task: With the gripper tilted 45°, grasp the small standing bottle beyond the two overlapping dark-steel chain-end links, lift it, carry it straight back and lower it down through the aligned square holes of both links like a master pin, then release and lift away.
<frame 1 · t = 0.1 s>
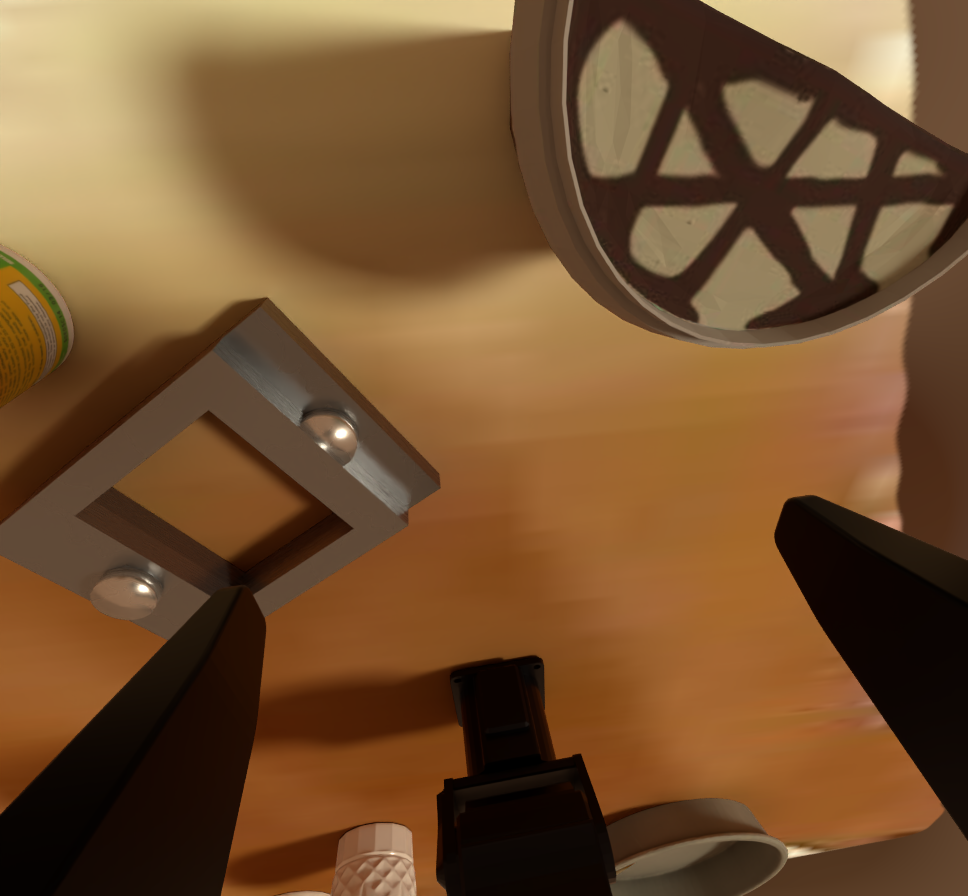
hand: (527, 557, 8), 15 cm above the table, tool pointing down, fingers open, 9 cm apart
cake pan: (660, 837, 58), on the table
white cup: (375, 835, 47), on the table
chain ends: (236, 489, 24), on the table
food container: (601, 183, 19), on the table
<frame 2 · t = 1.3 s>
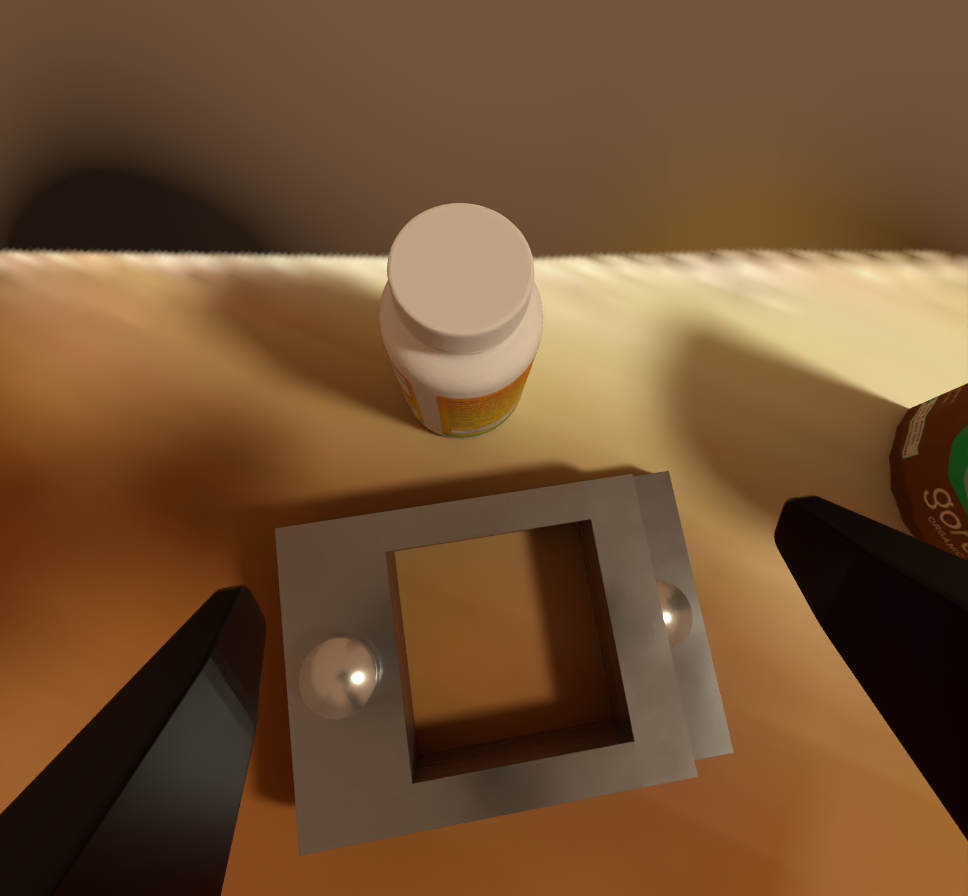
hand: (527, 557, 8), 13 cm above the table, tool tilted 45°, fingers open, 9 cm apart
supplement bottle: (462, 385, 23), on the table
chain ends: (501, 633, 21), on the table
food container: (950, 526, 23), on the table
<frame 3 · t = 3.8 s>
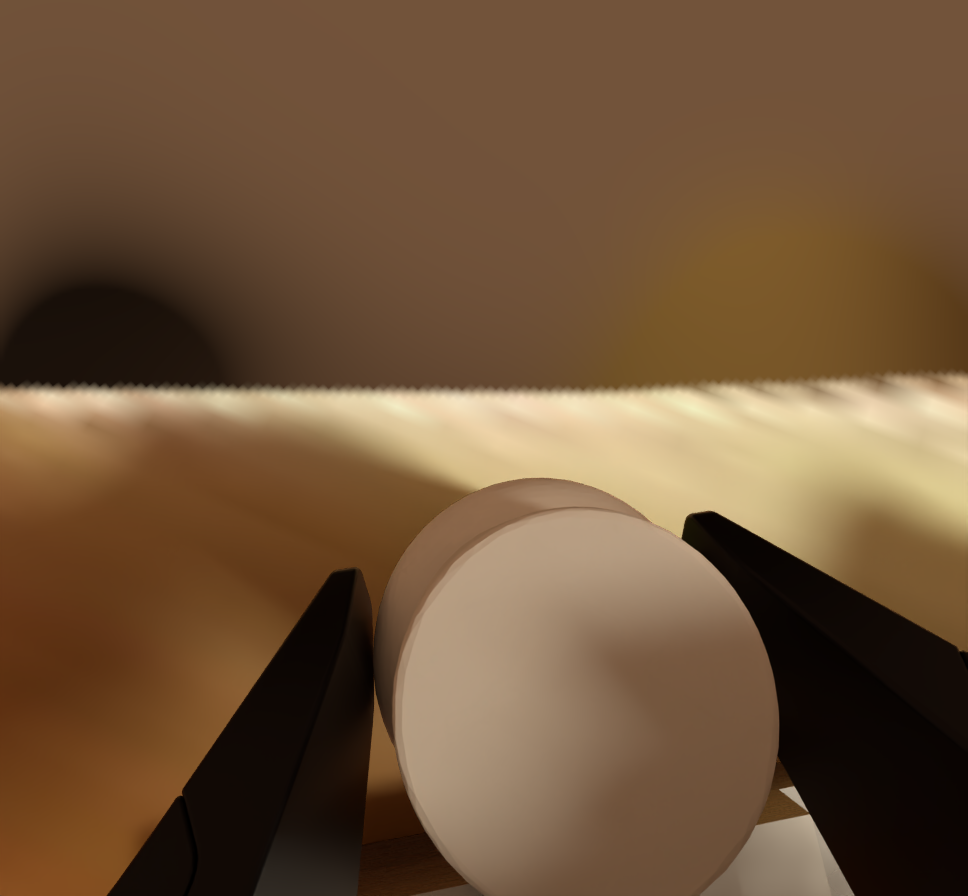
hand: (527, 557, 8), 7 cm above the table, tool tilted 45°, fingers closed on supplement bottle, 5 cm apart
supplement bottle: (506, 600, 15), on the table, touching gripper
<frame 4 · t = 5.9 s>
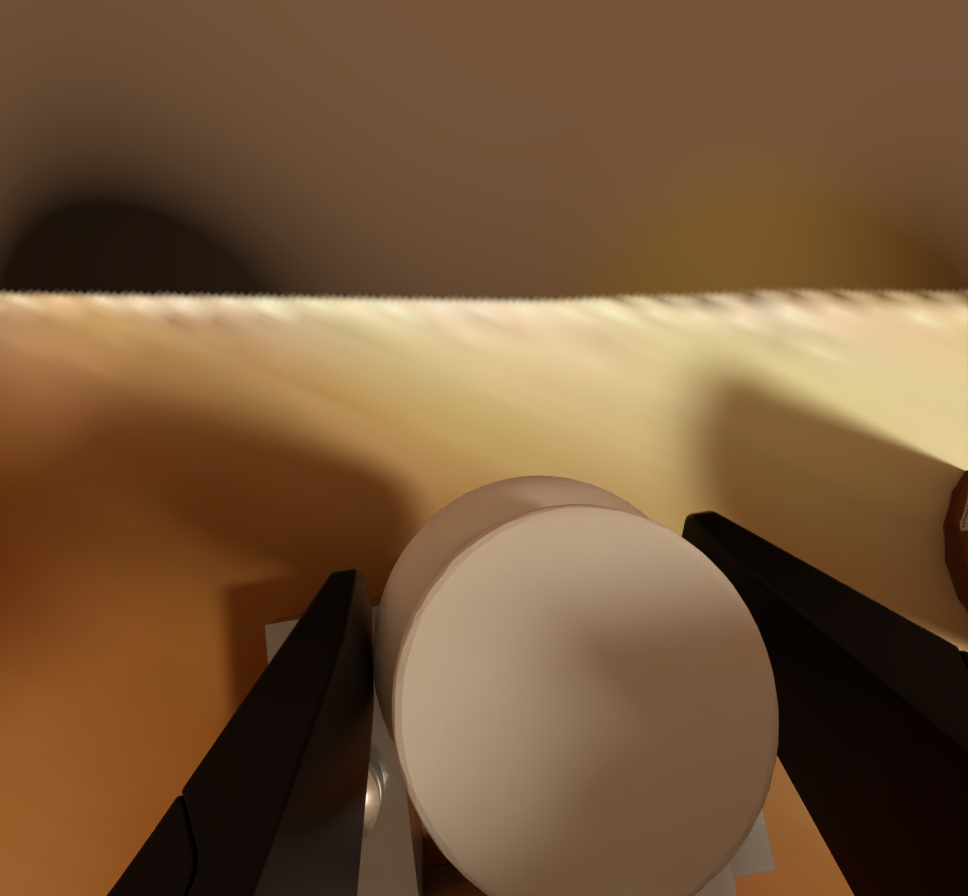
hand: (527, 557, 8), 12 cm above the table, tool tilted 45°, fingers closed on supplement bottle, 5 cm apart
supplement bottle: (506, 599, 15), point 5 cm above the table, touching gripper
chain ends: (518, 728, 19), on the table
when the fingers open (7 cm above the table, at t = 8.0 s): supplement bottle stays where it is, resting in chain ends.
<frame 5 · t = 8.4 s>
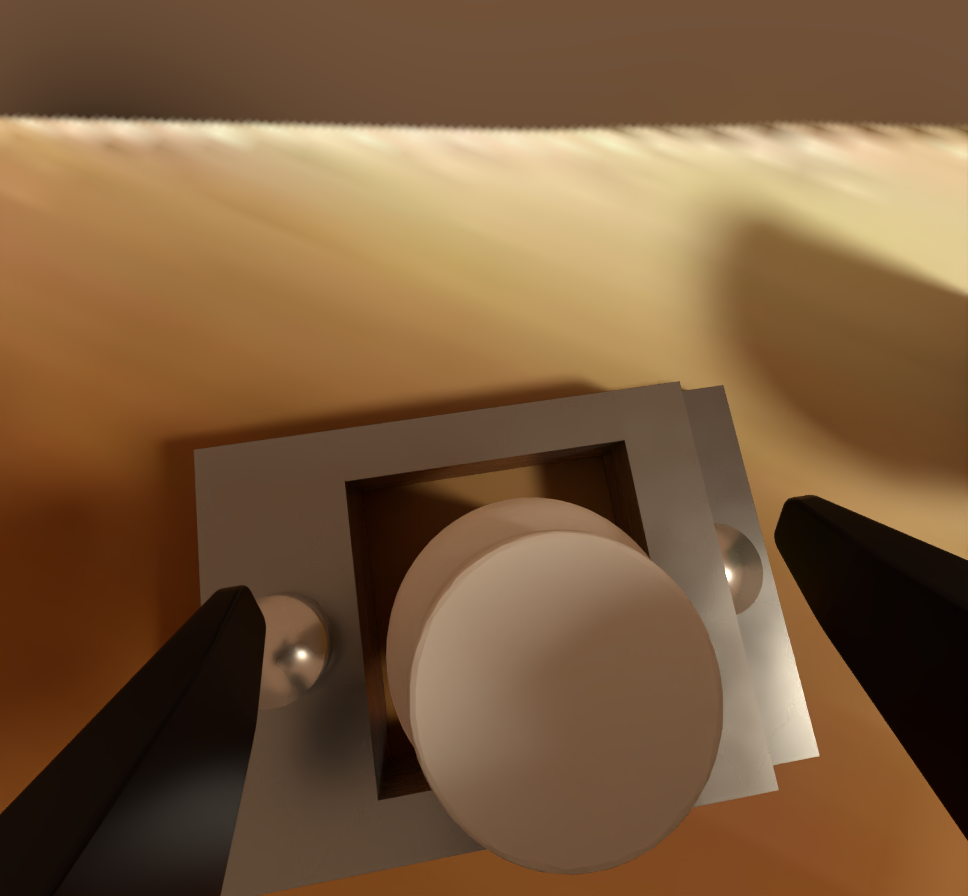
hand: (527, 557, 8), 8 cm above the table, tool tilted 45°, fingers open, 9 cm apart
supplement bottle: (504, 603, 16), resting in chain ends
chain ends: (503, 597, 16), on the table
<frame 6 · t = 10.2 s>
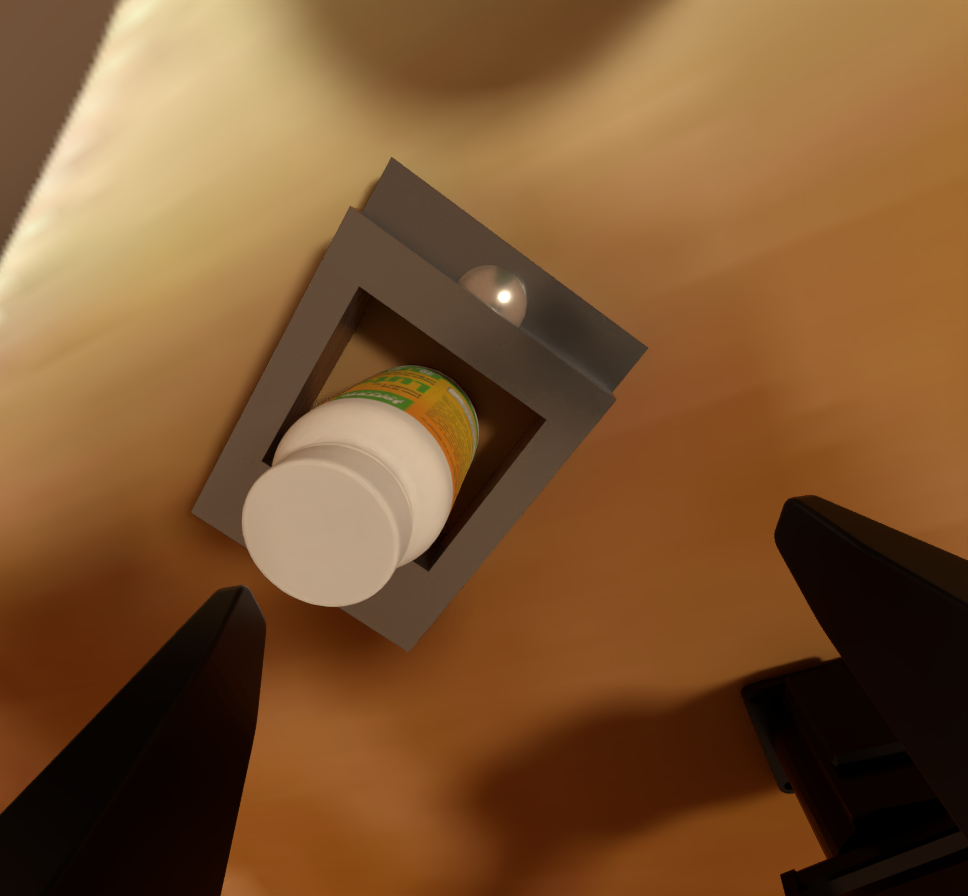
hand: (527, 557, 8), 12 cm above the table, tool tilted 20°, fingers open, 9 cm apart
supplement bottle: (418, 425, 21), resting in chain ends
chain ends: (412, 424, 21), on the table
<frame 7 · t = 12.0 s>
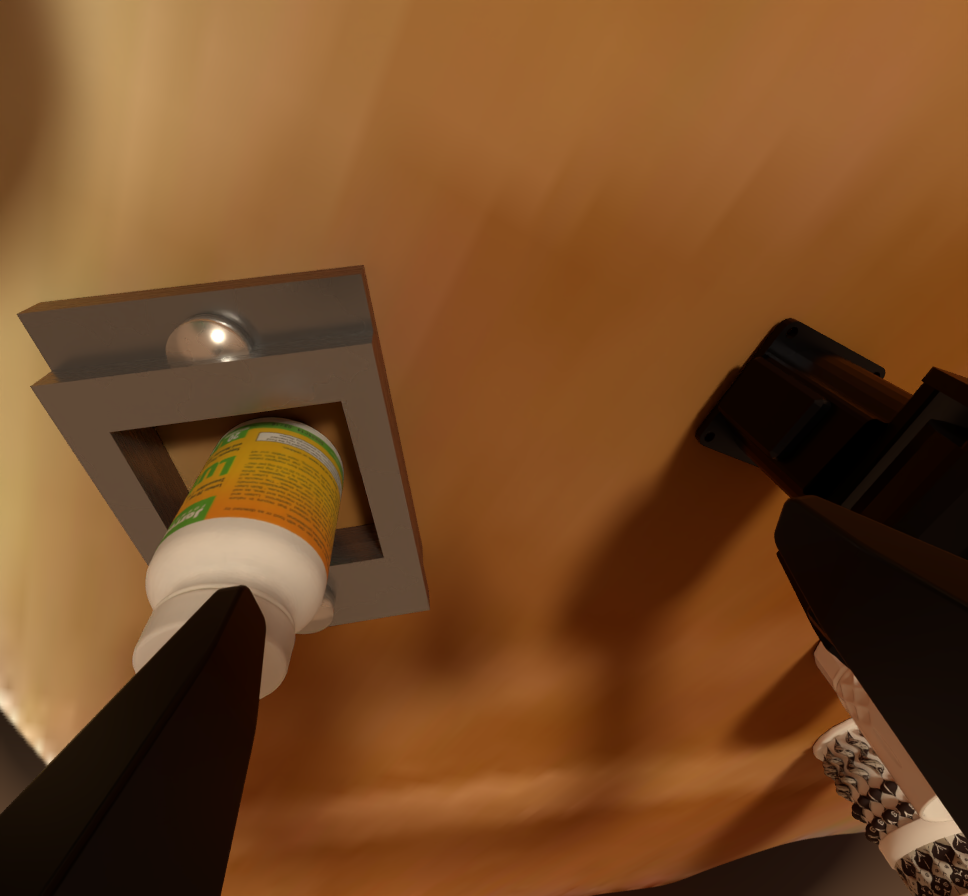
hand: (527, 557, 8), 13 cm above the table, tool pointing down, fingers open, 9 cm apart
supplement bottle: (282, 464, 22), resting in chain ends
decorative candle: (855, 733, 46), on the table
white cup: (855, 637, 37), on the table
chain ends: (276, 468, 22), on the table
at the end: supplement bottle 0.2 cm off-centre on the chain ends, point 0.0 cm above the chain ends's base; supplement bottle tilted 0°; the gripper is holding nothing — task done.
